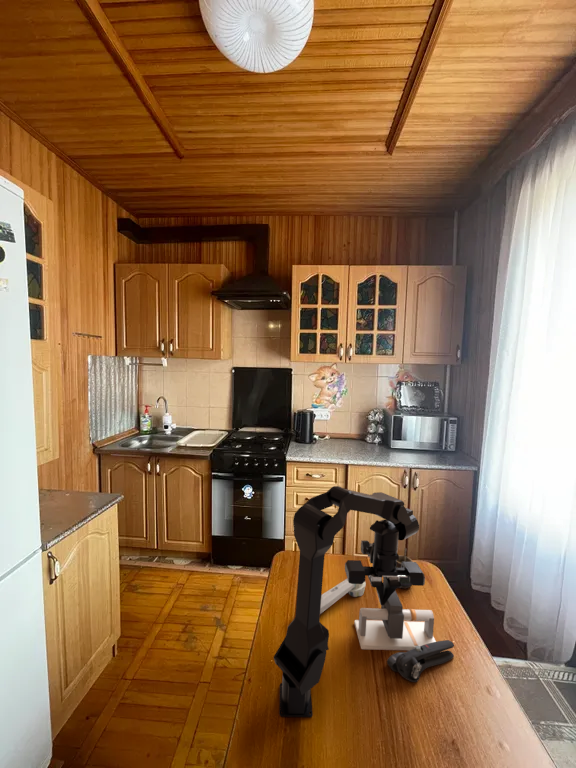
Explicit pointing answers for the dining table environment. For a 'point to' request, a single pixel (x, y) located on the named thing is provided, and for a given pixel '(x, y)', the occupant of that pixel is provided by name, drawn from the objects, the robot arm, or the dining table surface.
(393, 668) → the can opener
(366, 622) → the pipe stand
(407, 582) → the mate gourd
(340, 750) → the dining table surface
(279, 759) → the dining table surface
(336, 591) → the light grey long piece
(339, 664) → the dining table surface
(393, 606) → the stepped block
